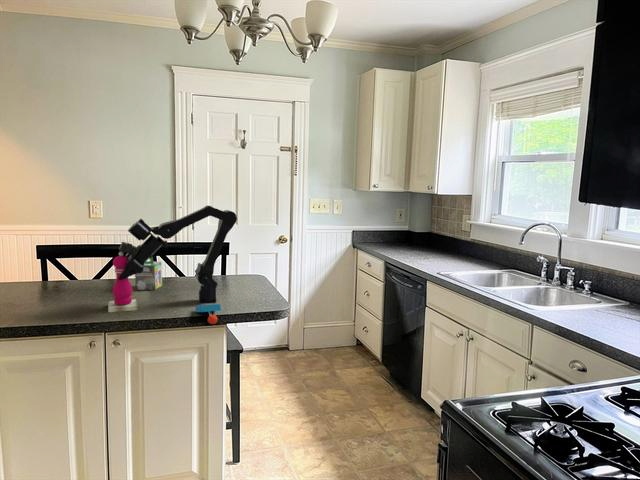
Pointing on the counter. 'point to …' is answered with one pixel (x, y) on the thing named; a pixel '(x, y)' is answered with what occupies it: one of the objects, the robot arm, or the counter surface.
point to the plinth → (122, 306)
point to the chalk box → (149, 276)
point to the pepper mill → (121, 282)
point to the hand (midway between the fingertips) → (118, 278)
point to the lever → (209, 311)
